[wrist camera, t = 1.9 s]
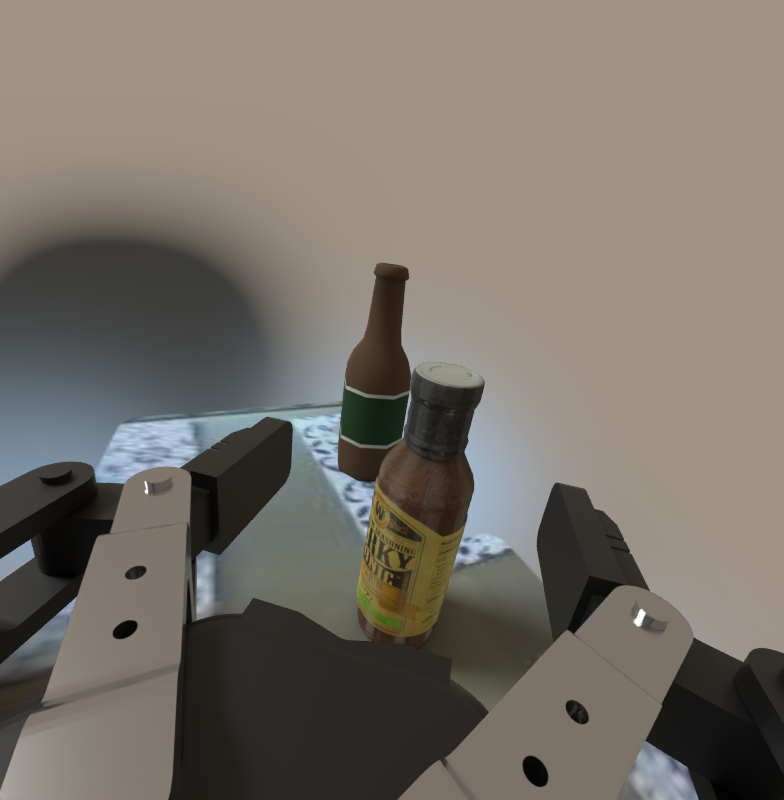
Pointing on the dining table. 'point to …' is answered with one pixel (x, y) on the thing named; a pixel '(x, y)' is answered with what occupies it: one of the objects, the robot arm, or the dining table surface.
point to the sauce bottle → (419, 508)
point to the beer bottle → (376, 382)
